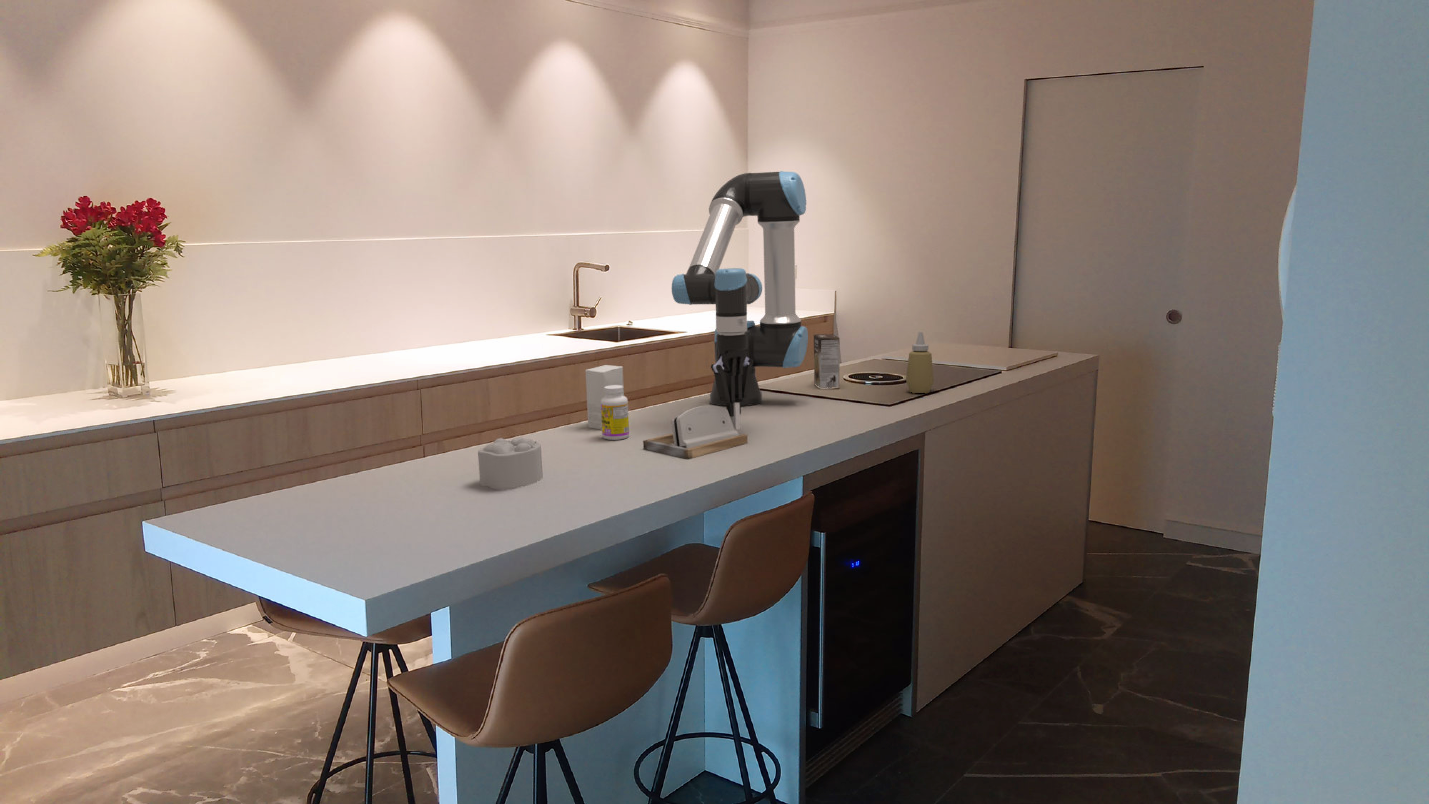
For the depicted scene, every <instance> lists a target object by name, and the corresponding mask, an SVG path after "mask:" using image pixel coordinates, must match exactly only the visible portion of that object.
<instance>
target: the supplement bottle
mask: <svg viewBox="0 0 1429 804" xmlns="http://www.w3.org/2000/svg"><path fill="white" fill-rule="evenodd" d="M623 387H624V385H623V386H621V385H610V386H605V387H604V392H605V397H603V398H602V400H601V415H602V430H601V433H602V435H601V436H602V438H603V439H605V440H608V441H620V440H625V439H627V438H629V436H630V422H629V421H630V420H629V419H630V418H629V400H628V397H627V396H625V395H624V396H623V391H624V390H625V389H624V390H623ZM624 392H625V391H624Z"/></svg>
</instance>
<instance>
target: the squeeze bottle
mask: <svg viewBox="0 0 1429 804" xmlns="http://www.w3.org/2000/svg"><path fill="white" fill-rule="evenodd" d="M915 342H916V343H914V344H912V345H911V346H912V348H911V349H912V351H910V352H909V353H908V360H907V366H906V367H907V368H906V369H907V370H906V377H905V381H906V385H907V389H908V391H909V393H911V392H912V394H915V393H925V394H929V393H930V392H931V389H932V386H933V384H934V381H935V380H934V379H935V378H934V370H933V369H934V368H933V367H934V366H933V356H932V353H931V352H930V351H929V344H927V343H926V342H925V338H924V333H923V332H918V334H917V337H916V341H915Z"/></svg>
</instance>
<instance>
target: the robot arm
mask: <svg viewBox="0 0 1429 804" xmlns="http://www.w3.org/2000/svg"><path fill="white" fill-rule="evenodd" d="M712 197H713V198H712V199H711V202H710V204H709V206H708V213H709V216H708V219H707V222H706V224H705V227H704V229H703V232H702V234H701V237H700V238H699V241H698V244H697V247H696V249H695V252H694V254H693V256H692V259H691V261H690V263H689V267H688V269H687V271H686V273H685V274H684V273H682V274H677V275H674V277H673V278H672V281H671V282H672V283H671V294H672V298H673V300H674V302H675V303H677V304H680V305H691V306H693V305H715V330H714V341H713V344H714V364H712V363H711V365H710V368H711V371H712V372H713V374H714V375H713V376H714V380H713V384H712V389H711V392H710V394H709V402H710V403H711V404H712V405H714V406H720V407H723V406H724V407H725V408H726V409H727V410H728V413H729V416H730V418H731V421H732V424H733V427H734V429H735V431H737V430H740V429H741V414H742V409H741V408H742V407H745V406H752V405H753V406H754V405H757V404H760V403H762V402H763V394H762V391H761V390H760V386H759V383H758V380H757V376H756V367H757V368H759V367H760V368H783V369H786V368H798V367H800V366H801V364H802V363H803V361H804V359H805V358H806V352H807V349H808V343H809V341H808V340H809V334H808V332H809V331H808V328H807V327H806V326H804V325H802V318H800V317H799V316H798V315H797V313H796V261H795V260H796V258H795V253H796V252H795V250H796V248H795V228H796V226H798V224H799V223H800V219H801V218H800V216H803V215H804V214H805V213H806V211H807V210H806V209H807V207H806V206H807V195H806V189H805V185H804V182H803V180H802V177H801V176H800V175H799V173H797V172H795V171H783V170H781V171H772V172H771V171H769V172H746V173H745V172H744V173H741V174H738V175H737V176H733V178H731V179H729V180H728V181H727V182H726V183H724V184H723V185H722V186H721V187H720V188H719V189H718V190H717V192H716V193H715V195H713V196H712ZM744 217H757V224H758V225H759V226H760V227H761V228H762V231H763V232H762V233H763V273H764V274H763V275H764V276H763V277H764V278H763V279H764V316H763V317H762V318H761V319H760V320H759V325H756V322H755V321H754V320H747V319H748V318H747V317H748V305H751V304H753V303H754V302H756V301H757V300H758V299H759V298H760V297H761V295H762V293H763V284H762V281H761V279H760V278H759V277H758V276H757V275H755V274H753V273H750V272H749V273H747V271H746V269H744V268H740V267H737V268H736V267H733V268H732V267H731V268H730V267H727V268H720V267H721V265H722V262H723V260H724V257H725V254H726V252H727V249H728V247H729V243H730V241H731V239H732V237H733V234H734V231H735V228H736V226H737V225H739V224H740V223H741V222H742V220H743V218H744Z"/></svg>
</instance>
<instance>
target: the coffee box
mask: <svg viewBox="0 0 1429 804" xmlns="http://www.w3.org/2000/svg"><path fill="white" fill-rule="evenodd" d="M840 340H841V339H840V337H839V336H836V335H835V334H834V333H831V334H827V333H825V334H824V333H823V334H822V333H819V334H817V333H816V334H813V370H814V372H813V377H814V378H813V379H814V383H815V384H816V385H817V386H819V387H820V388H827V387H828V388H832V387H839V388H840V368H841V367H840V357H841V356H840V355H841V354H840V352H841V351H840V348H841V347H840V342H841V341H840ZM817 386H816V387H817Z"/></svg>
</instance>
